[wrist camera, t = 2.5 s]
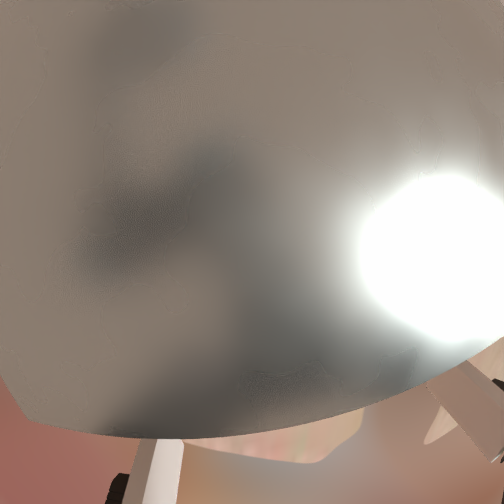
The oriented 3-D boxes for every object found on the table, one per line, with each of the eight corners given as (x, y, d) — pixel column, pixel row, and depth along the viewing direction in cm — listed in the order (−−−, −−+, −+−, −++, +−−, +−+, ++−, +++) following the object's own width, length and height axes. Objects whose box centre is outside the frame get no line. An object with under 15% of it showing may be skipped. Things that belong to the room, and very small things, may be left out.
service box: (130, 99, 16) (-7, -9, 1) (344, 70, 16) (469, -41, 2) (159, 274, 19) (37, 431, 4) (374, 236, 19) (549, 307, 4)
